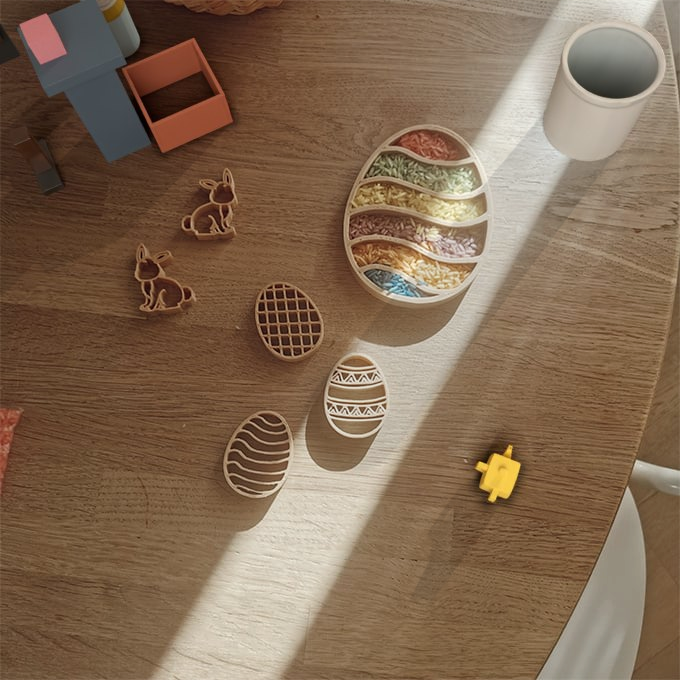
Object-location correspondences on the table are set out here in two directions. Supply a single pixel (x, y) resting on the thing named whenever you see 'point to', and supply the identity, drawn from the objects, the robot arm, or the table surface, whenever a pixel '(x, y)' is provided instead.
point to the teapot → (498, 474)
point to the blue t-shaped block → (92, 79)
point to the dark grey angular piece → (38, 159)
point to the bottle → (120, 25)
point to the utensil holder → (602, 88)
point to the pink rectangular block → (43, 39)
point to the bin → (167, 71)
